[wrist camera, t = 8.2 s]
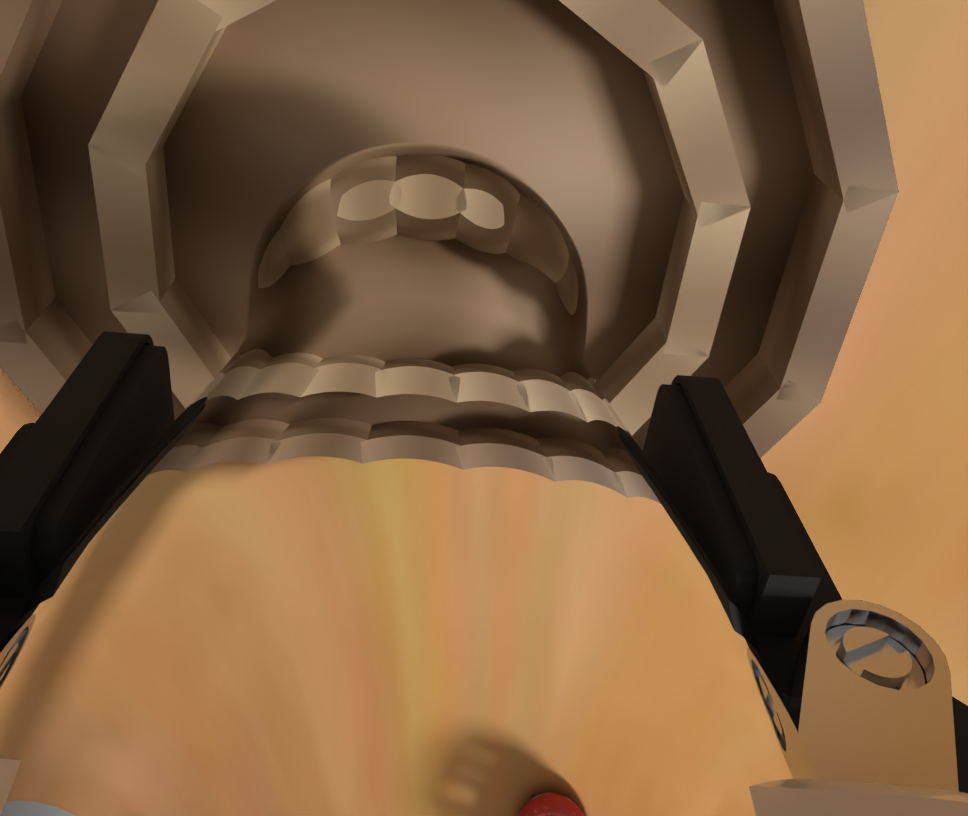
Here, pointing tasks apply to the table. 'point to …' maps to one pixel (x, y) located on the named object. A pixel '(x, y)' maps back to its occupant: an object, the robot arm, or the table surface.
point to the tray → (465, 124)
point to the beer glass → (395, 553)
